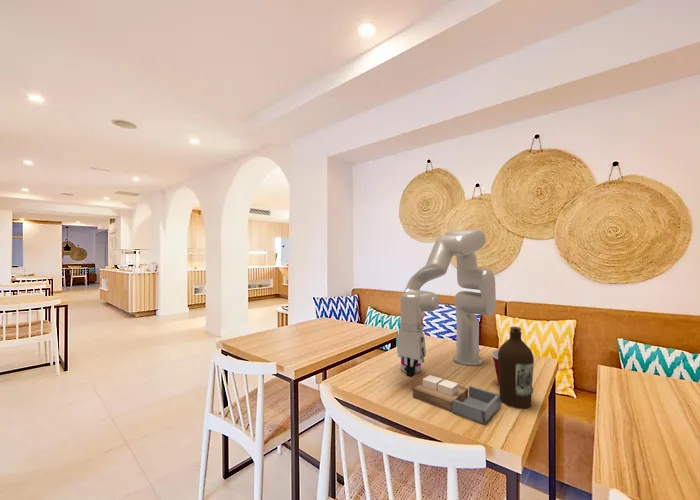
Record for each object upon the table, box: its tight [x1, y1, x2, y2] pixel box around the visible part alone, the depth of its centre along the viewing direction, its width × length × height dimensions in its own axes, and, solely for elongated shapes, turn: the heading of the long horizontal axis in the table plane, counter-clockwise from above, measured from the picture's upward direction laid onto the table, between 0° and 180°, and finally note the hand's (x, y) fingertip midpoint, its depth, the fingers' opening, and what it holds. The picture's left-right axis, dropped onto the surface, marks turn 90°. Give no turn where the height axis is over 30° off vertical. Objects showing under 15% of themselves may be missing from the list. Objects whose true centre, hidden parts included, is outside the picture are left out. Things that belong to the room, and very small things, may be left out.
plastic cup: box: [490, 348, 500, 387], centre depth 118 cm, size 11×11×12 cm
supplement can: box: [400, 358, 422, 375], centre depth 133 cm, size 8×8×15 cm
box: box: [452, 385, 502, 426], centre depth 101 cm, size 14×10×4 cm
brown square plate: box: [412, 382, 469, 413], centre depth 110 cm, size 13×14×3 cm
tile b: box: [438, 379, 459, 396], centre depth 108 cm, size 5×5×2 cm
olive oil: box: [498, 326, 535, 409], centre depth 106 cm, size 11×11×25 cm
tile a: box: [422, 374, 444, 391], centre depth 112 cm, size 5×5×2 cm
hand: (410, 375), depth 118 cm, fingers closed
